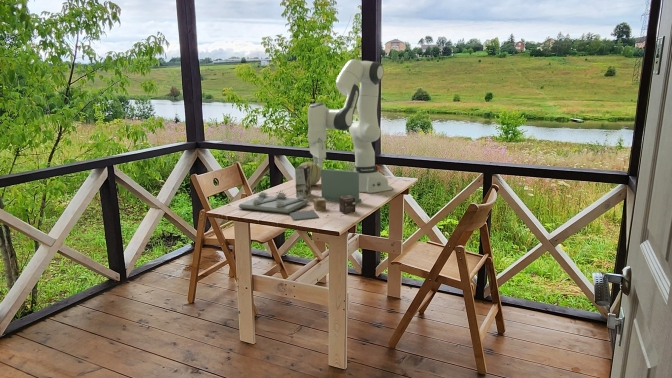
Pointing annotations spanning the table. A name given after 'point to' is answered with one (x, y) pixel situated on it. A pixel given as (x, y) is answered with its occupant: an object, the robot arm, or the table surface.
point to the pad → (303, 215)
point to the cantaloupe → (313, 172)
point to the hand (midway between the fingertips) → (318, 165)
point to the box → (347, 204)
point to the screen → (339, 184)
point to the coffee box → (303, 181)
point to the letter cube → (319, 204)
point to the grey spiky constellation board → (274, 203)
